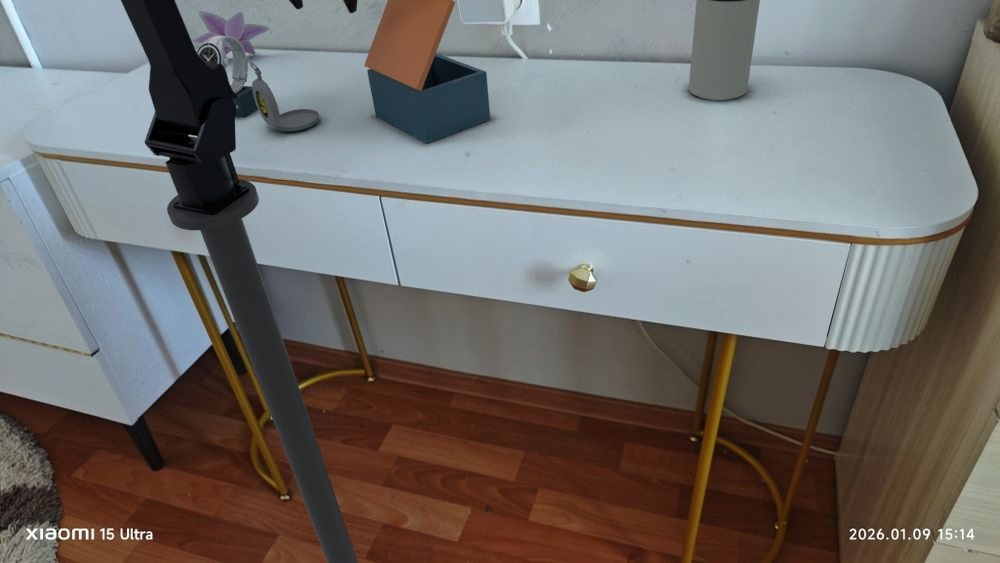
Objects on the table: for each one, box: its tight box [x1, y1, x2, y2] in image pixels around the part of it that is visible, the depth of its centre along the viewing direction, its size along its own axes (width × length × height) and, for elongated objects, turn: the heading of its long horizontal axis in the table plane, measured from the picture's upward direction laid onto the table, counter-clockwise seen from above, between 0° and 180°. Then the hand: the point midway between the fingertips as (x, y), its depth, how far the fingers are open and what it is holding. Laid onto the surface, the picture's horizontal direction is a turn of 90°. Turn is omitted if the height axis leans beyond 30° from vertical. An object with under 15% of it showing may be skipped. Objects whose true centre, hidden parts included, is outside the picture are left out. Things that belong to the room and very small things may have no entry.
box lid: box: [363, 0, 456, 91], centre depth 89 cm, size 11×14×1 cm
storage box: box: [366, 52, 491, 144], centre depth 95 cm, size 11×14×7 cm
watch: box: [196, 36, 259, 118], centre depth 102 cm, size 6×8×11 cm
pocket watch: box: [249, 61, 320, 132], centre depth 96 cm, size 8×8×10 cm
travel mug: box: [688, 0, 761, 101], centre depth 92 cm, size 8×8×18 cm
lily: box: [192, 11, 271, 58], centre depth 123 cm, size 12×12×10 cm
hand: (326, 10), depth 93 cm, fingers open, 9 cm apart
